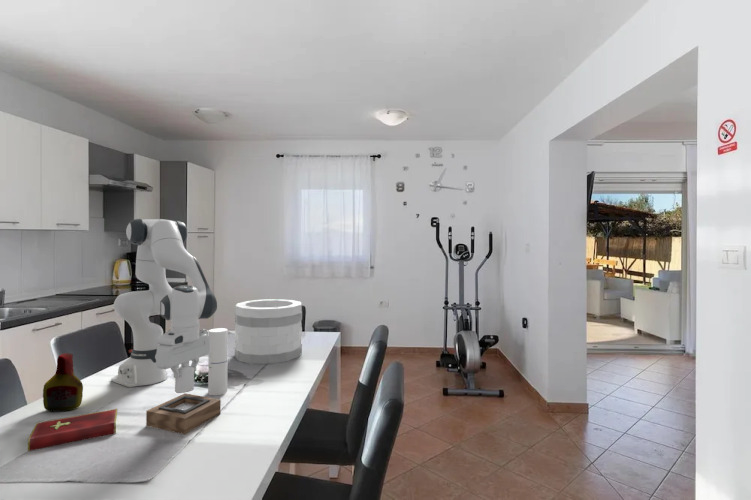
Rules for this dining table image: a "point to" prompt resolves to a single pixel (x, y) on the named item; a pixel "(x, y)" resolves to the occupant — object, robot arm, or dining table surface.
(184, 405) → the plate
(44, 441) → the hardcover book
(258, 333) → the storage basket
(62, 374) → the bottle
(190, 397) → the socket block
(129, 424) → the dining table surface
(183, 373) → the eye dropper bottle
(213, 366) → the cylindrical container
